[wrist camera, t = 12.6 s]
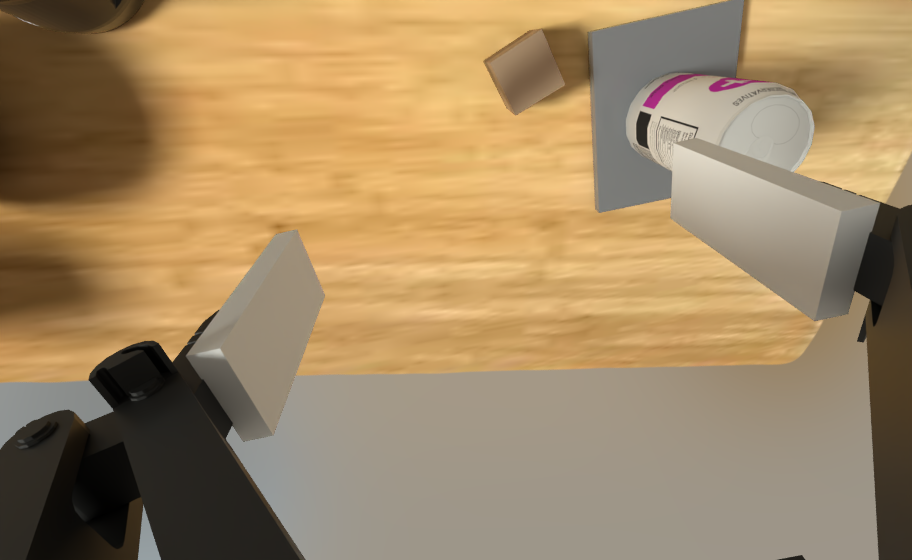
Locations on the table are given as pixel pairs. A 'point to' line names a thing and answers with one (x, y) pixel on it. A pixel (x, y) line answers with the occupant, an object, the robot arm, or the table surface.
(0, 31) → the table surface
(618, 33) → the slate board
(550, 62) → the walnut block
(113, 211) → the table surface
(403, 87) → the table surface
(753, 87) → the supplement can
